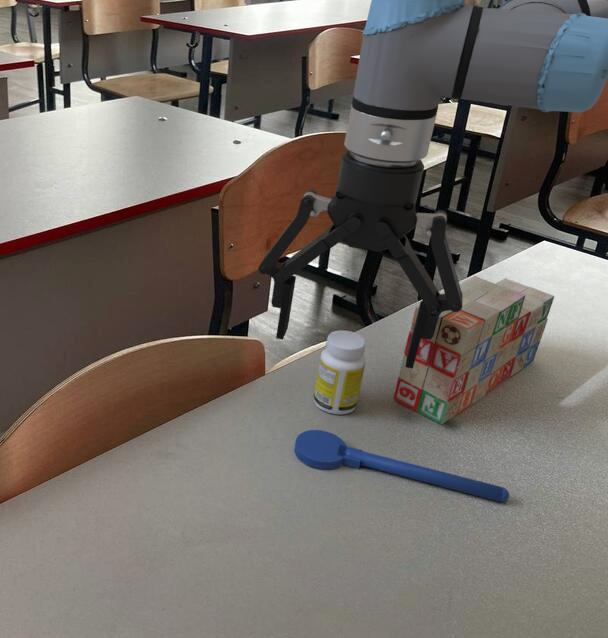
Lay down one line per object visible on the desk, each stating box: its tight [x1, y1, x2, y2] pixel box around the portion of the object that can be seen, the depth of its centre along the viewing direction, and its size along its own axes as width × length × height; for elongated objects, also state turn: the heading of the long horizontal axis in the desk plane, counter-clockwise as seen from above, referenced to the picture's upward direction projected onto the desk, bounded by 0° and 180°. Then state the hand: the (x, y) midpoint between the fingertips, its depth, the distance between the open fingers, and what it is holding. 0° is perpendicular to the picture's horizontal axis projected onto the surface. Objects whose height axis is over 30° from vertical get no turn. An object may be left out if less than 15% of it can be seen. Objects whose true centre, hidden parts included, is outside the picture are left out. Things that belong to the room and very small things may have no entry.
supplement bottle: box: [313, 329, 366, 415], centre depth 83 cm, size 5×5×8 cm
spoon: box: [293, 429, 510, 503], centre depth 75 cm, size 20×5×1 cm, turn 68°
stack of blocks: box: [393, 275, 555, 425], centre depth 87 cm, size 21×6×12 cm, turn 129°
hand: (344, 347), depth 82 cm, fingers open, 13 cm apart
